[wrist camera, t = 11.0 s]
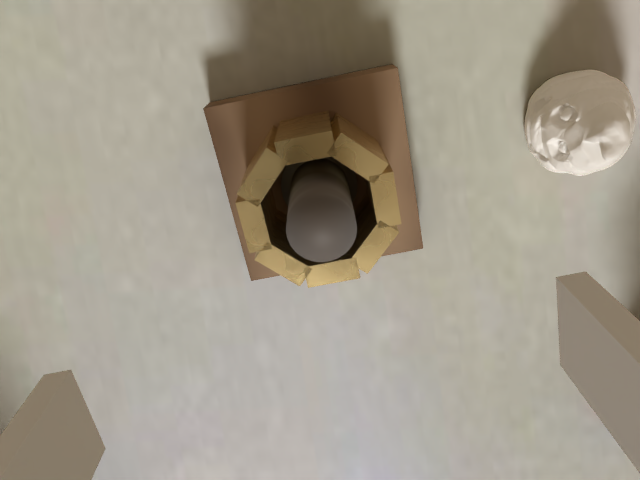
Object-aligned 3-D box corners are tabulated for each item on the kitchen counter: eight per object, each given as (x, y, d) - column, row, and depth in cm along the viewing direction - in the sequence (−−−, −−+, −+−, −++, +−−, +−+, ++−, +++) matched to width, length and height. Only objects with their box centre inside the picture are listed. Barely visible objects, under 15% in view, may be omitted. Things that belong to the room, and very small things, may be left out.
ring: (268, 254, 32) (260, 296, 27) (236, 129, 29) (221, 153, 24) (394, 230, 31) (408, 269, 27) (373, 101, 29) (385, 119, 24)
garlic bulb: (575, 81, 25) (698, 80, 25) (526, 67, 30) (627, 66, 30) (555, 200, 27) (669, 199, 27) (513, 166, 32) (608, 165, 32)
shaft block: (254, 265, 34) (236, 349, 26) (209, 102, 31) (172, 138, 22) (417, 234, 34) (452, 309, 25) (392, 64, 30) (423, 86, 22)
